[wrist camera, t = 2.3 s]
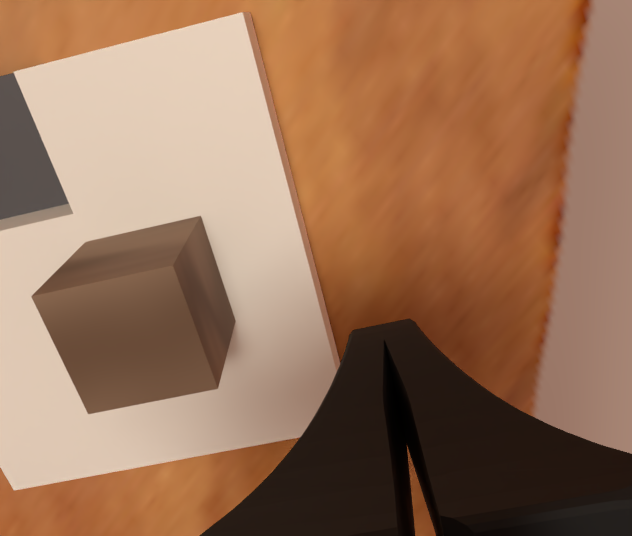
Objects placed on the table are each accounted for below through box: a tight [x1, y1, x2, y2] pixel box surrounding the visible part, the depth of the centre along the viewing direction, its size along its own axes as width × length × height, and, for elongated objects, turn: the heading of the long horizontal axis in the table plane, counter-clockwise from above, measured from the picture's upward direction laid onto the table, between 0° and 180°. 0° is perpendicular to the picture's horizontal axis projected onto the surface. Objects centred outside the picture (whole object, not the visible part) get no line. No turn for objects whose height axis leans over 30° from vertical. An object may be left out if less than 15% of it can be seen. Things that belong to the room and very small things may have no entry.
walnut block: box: [31, 216, 236, 414], centre depth 18 cm, size 4×4×4 cm
